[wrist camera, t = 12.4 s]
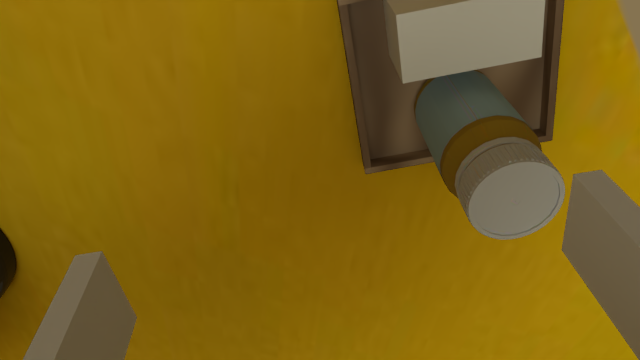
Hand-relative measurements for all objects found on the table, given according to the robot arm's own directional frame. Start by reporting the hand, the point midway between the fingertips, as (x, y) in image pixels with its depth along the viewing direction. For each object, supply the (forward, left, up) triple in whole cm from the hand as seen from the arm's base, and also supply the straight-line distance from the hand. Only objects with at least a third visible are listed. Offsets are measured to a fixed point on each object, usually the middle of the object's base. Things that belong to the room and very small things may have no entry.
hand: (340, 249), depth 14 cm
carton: (+11, -3, -29) cm, 31 cm away
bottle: (+11, -11, -29) cm, 33 cm away
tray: (+11, -8, -30) cm, 33 cm away
